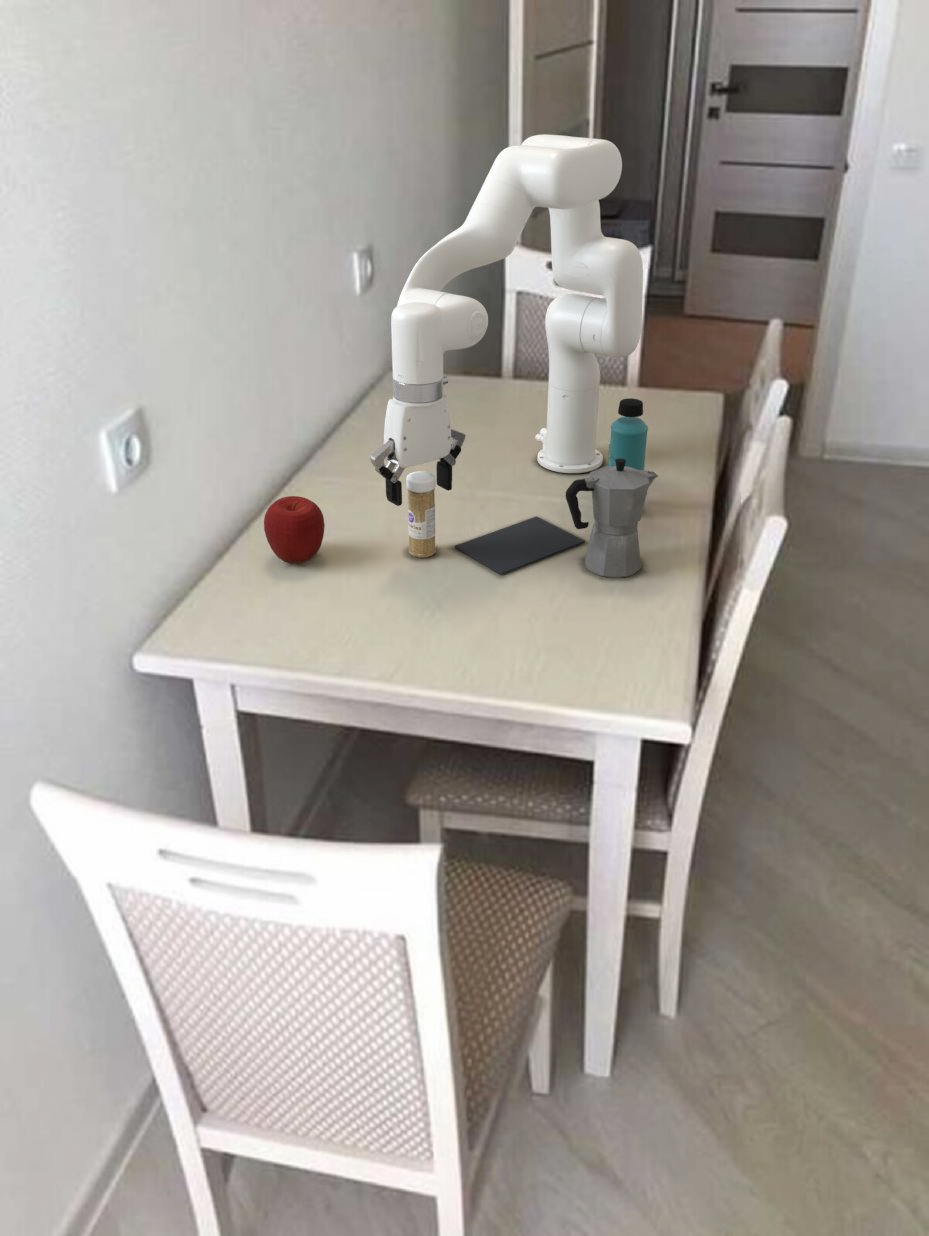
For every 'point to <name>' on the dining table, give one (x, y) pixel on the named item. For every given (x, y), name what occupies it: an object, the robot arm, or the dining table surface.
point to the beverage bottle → (629, 435)
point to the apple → (294, 528)
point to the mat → (519, 545)
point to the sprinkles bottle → (421, 513)
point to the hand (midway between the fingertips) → (419, 495)
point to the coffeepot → (612, 517)
